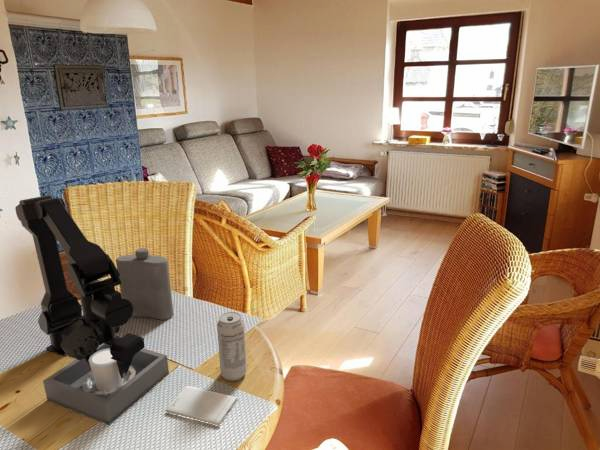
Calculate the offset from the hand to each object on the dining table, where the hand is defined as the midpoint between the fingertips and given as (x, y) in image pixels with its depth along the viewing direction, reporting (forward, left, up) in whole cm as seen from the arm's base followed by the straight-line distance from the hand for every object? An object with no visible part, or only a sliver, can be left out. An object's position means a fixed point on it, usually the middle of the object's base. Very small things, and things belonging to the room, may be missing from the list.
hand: (108, 371), depth 102 cm
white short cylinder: (0, 0, -3) cm, 3 cm away
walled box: (0, 0, -4) cm, 4 cm away
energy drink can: (+23, +15, -4) cm, 28 cm away
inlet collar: (0, 0, -4) cm, 4 cm away
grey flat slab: (+23, +3, -5) cm, 24 cm away
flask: (-15, +29, -4) cm, 33 cm away
